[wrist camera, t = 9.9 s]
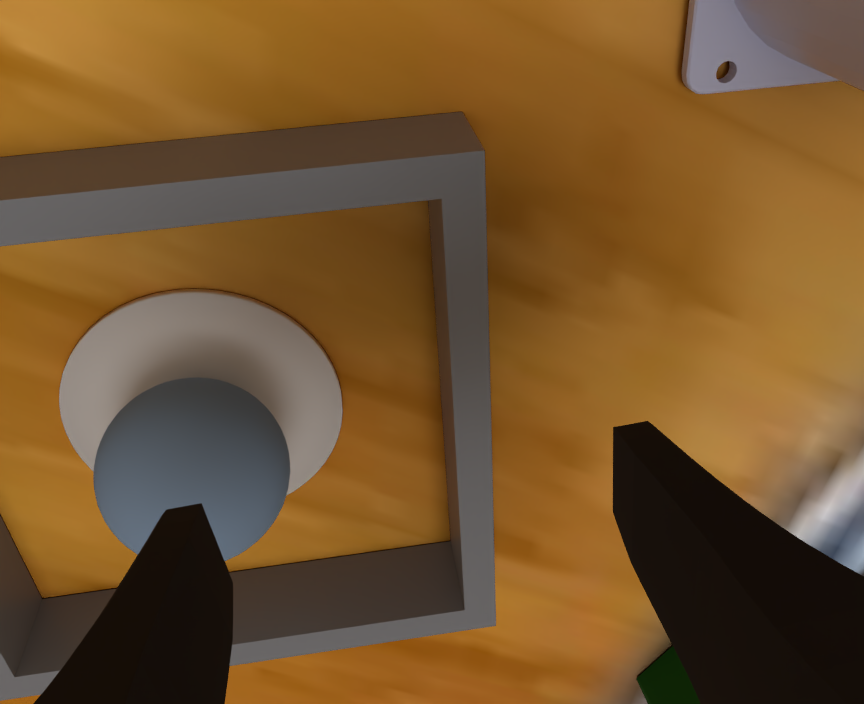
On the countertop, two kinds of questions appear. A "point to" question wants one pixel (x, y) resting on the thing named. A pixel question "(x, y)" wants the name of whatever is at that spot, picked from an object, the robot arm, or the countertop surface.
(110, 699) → the robot arm
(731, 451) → the countertop surface
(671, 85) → the countertop surface
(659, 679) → the milk carton
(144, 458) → the ball
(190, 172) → the grey square frame
